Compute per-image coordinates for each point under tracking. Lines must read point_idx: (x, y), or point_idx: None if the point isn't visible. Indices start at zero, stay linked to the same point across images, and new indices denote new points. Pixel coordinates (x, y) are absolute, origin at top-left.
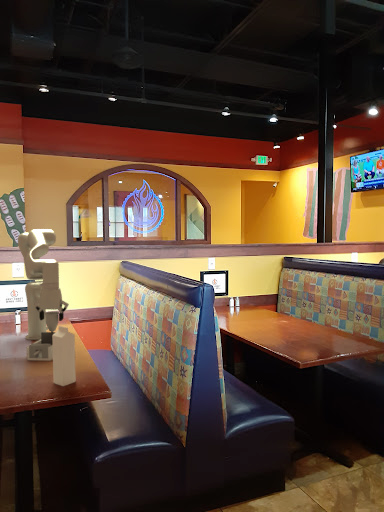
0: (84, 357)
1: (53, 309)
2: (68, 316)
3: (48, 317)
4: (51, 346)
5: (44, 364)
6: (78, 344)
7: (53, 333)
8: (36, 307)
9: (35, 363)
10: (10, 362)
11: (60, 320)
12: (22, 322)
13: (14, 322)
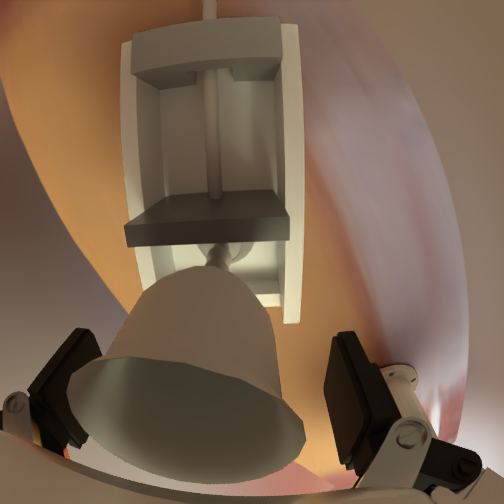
0: (36, 153)
1: (52, 453)
2: None
3: (180, 327)
4: (126, 66)
5: (158, 14)
6: None
7: (163, 221)
8: (474, 468)
9: None
10: (348, 26)
11: (77, 332)
12: None
13: None
